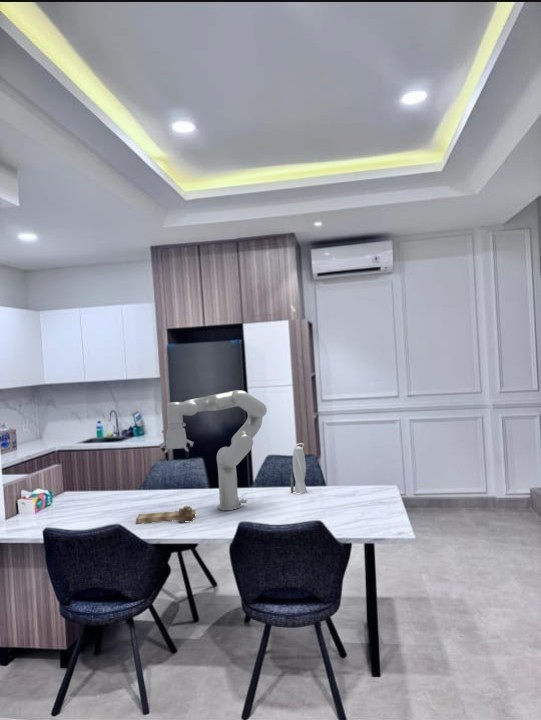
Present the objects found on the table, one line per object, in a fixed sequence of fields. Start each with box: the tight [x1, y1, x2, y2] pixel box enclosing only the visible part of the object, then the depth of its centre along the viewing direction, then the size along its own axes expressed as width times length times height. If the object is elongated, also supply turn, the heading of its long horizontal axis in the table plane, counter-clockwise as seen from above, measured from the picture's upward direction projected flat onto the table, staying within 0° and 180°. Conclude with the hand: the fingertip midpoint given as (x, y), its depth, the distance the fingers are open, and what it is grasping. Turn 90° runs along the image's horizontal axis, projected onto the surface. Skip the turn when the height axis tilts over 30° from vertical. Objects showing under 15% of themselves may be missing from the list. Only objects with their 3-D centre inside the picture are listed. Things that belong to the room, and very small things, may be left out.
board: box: [135, 509, 196, 525], centre depth 239 cm, size 28×8×2 cm, turn 96°
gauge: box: [178, 505, 193, 523], centre depth 237 cm, size 6×11×7 cm, turn 5°
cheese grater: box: [289, 442, 308, 495], centre depth 278 cm, size 8×8×28 cm
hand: (177, 459), depth 247 cm, fingers open, 9 cm apart
